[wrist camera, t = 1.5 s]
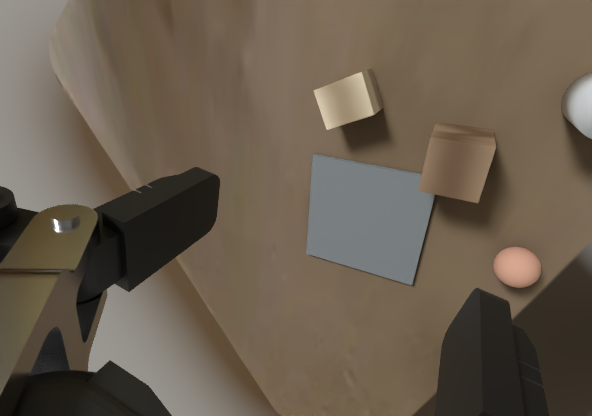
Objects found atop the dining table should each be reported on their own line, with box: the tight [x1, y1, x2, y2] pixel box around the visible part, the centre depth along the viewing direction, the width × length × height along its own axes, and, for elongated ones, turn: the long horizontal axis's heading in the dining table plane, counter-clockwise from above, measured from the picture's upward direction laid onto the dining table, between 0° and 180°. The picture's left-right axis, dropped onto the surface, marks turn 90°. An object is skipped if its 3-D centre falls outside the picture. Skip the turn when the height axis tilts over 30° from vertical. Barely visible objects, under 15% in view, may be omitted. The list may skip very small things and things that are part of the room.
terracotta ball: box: [494, 247, 541, 288], centre depth 34 cm, size 4×4×4 cm
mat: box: [306, 154, 435, 285], centre depth 41 cm, size 14×14×1 cm
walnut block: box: [418, 122, 496, 203], centre depth 32 cm, size 5×5×6 cm
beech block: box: [314, 68, 383, 130], centre depth 35 cm, size 5×4×4 cm
